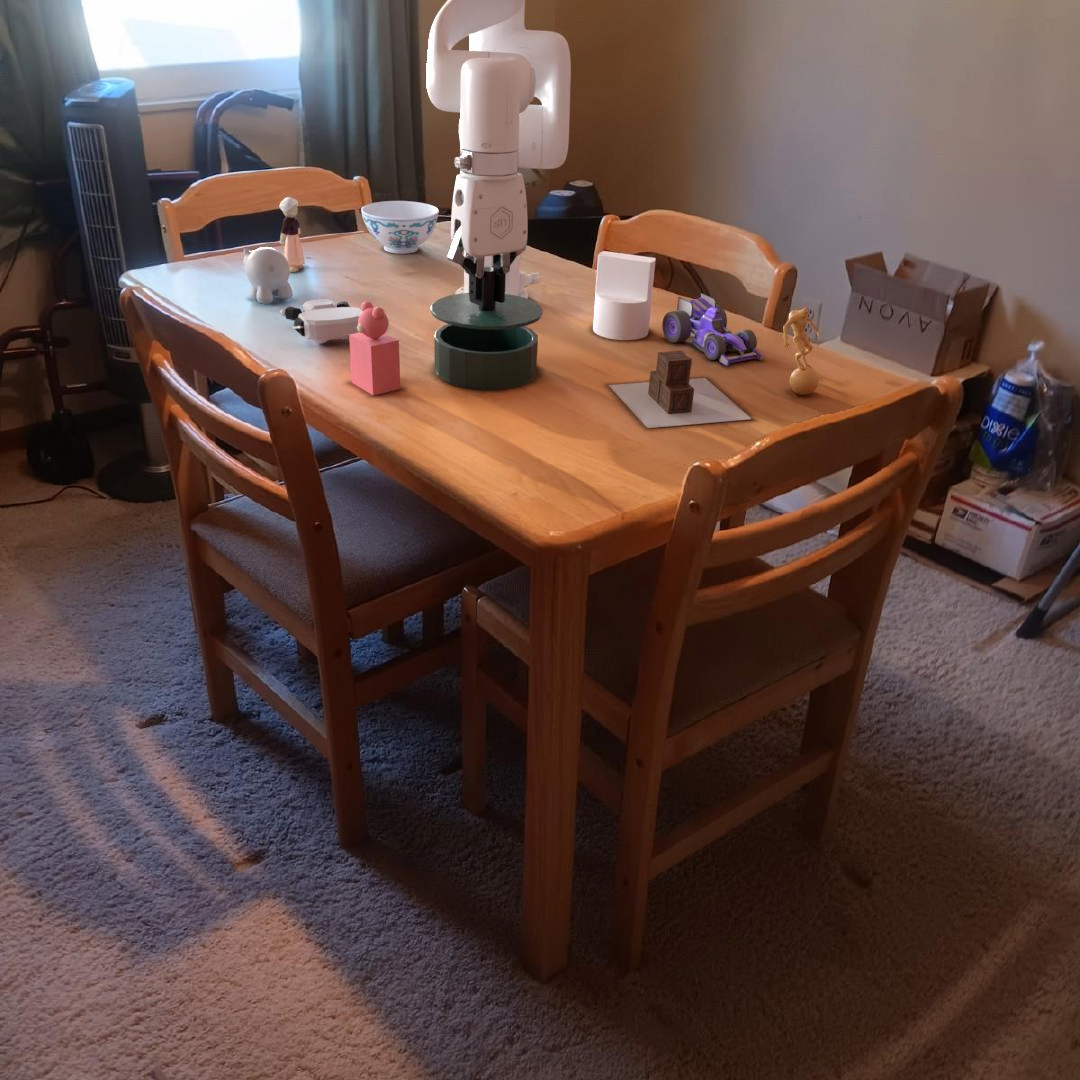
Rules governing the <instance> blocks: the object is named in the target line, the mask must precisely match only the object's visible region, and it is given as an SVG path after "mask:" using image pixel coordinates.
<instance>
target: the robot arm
mask: <svg viewBox="0 0 1080 1080" xmlns="http://www.w3.org/2000/svg"><path fill="white" fill-rule="evenodd" d="M525 11H526V0H446V2H445V3H444V4H442V7H441V8H440V9H439V11H438V12H437V14H436V15H435V18H434V20H433V22H432V25H431V28H430V31H429V37H428V49H427V61H426V62H427V63H426V89H427V94H428V98H429V100H430V102H431V104H432V105H433V106H434V107H435V108H436V109H438V110H439V111H443V112H445V113H446V112H448V113H460V118H459V123H458V136H459V143H460V144H459V145H460V149H459V156H456V157H454V159H453V164H454V167H455V168H456V169H459V170H460V171H459V173H458V174H457V175H456V178H455V183H454V190H453V194H452V195H453V196H452V204H451V217H450V241H451V245H450V249H449V251H448V254H447V260H448V261H450V262H452V263H455V264H457V265H459V266H460V267H461V268H462V269H463V285H462V286H461V287H459V288H457V289H456V290H455V292H454V295H455V294H461V293H469V299H470V302H472V303H474V304H477V305H479V306H481V307H483V306H486V304H487V278H486V277H483V275H484V267H493V268H495V269H496V301H497V302H499V303H503V302H504V301H505V294H510V295H515V296H520V297H523V298H527V299H529V294H528V293H527V291H525V288H527V287H528V285H537V284H540V283H541V282H542V276H541V274H540V272H538V271H535V272H531V273H530V272H529V273H526V272H525V271H523V270H522V271H521V254H522V253H524V252H525V251H526V250H527V244H528V231H529V230H528V227H529V225H528V222H529V221H528V201H527V191H526V186H525V180H524V175H523V173H521V172H519V169H532V170H533V169H536V170H554V169H558V168H561V167H562V166H563V165H564V163H565V162H566V160H567V157H568V152H569V143H570V142H569V140H570V118H571V117H570V113H571V81H572V80H571V79H572V67H571V66H572V61H571V60H572V59H571V52H570V47H569V43H568V41H567V40H566V38H565V37H564V36H563V35H562V34H561V33H559V32H556V31H551V30H536V29H534V30H533V29H526V26H525V14H526V13H525ZM466 37H469V50H465V49H453V47H455V45H456V44H458V43H459V42H460V41H462V40H463V39H465V38H466ZM534 98H537V99H538V100H539V102H541V104H531V103H532V102H533V100H534Z"/></svg>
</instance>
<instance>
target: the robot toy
mask: <svg viewBox="0 0 1080 1080" xmlns="http://www.w3.org/2000/svg"><path fill="white" fill-rule="evenodd" d="M362 312H363V311H362V310H361V308H359V307H352V306H351V305H350V303H349V301H345V300H341V301H338V302H337V304H336V303H335V302H334V301H333V300H332V299H330V298H318V299H310V300H309V299H308V300H307V301H305V302H304V303H303V304H302V309H301V308H298V307H294V306H287V307H286V308H283V309H280V310H279V314H280V315H281V316H285V319H286V320H289V321H293V325H292V330H295V331H296V332H297V333H298V334H299V335H301V336H302V337H304V338H305V339H307V340H309V341H310V342H313V343H314V344H319V345H321V344H322V345H323V344H325V343H327V342H329V341H331V340H341V339H343V340H346V341H350V340H349V335H350V334H355V333H359V332H358V330H357V326H358V319H359V316H360V314H361V313H362Z"/></svg>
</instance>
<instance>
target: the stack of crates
mask: <svg viewBox="0 0 1080 1080" xmlns="http://www.w3.org/2000/svg"><path fill="white" fill-rule="evenodd" d="M692 362H693V358H691V357H690V356H689V355H688V354H686V353H685V352H684V351H683V350H668V351H658V352H657V358H656V366H655V367H656V368H655V370H650V372H649V381H645V382H633V383H619V384H618V383H617V384H608V387H609V388H610V389H611V390H612V391H613V392H614V393H615V394H616V395H617V397H619V398H620V399H621V401H622V402H623V403H624V404H625V405H626V406H627V407H628V408H629V410H630V411H631V412H632V413H633V414H634V415H635V416H636V417H637V418H638V420H639V421H640V422H641V423H642V425H644V426H645V427H646V428H647V429H654V428H655V429H656V428H665V427H666V428H667V427H676V426H677V427H678V426H687V425H688V426H689V425H699V424H700V425H701V424H711V423H713V424H714V423H723V422H735V421H746V420H752V418H751V417H750V416H749V415H748V414H747V413H746V412H744V411H743V410H742V409H741V408H740V407H739V406H737V405H736V403H735V402H733V401H732V400H731V399H730V398H728V396H726V395H725V394H724V393H723V392H722V391H720V390H719V389H718V388H717V387H716V386H715V385H713V383H711V382H710V381H709V380H708V379H707V378H706V377H700V378H691V371H692Z"/></svg>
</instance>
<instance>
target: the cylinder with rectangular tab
mask: <svg viewBox="0 0 1080 1080" xmlns="http://www.w3.org/2000/svg"><path fill="white" fill-rule="evenodd" d="M596 266H597V267H596V281H595V294H594V308H593V321H592V322H593V323H592V330H593V332H594V333H595V334H596V335H598V336H599V337H602V338H606V339H610V340H616V341H635V340H640V339H643V338H645V337H647V336H648V334H649V329H650V321H651V308H652V299H653V289H654V279H655V271H656V257H652V256H651V257H650V256H643V255H636V254H630V253H629V254H628V253H621V252H616V251H615V252H614V251H607V250H603V251H601V252H599V253H598V254H597V265H596Z"/></svg>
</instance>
